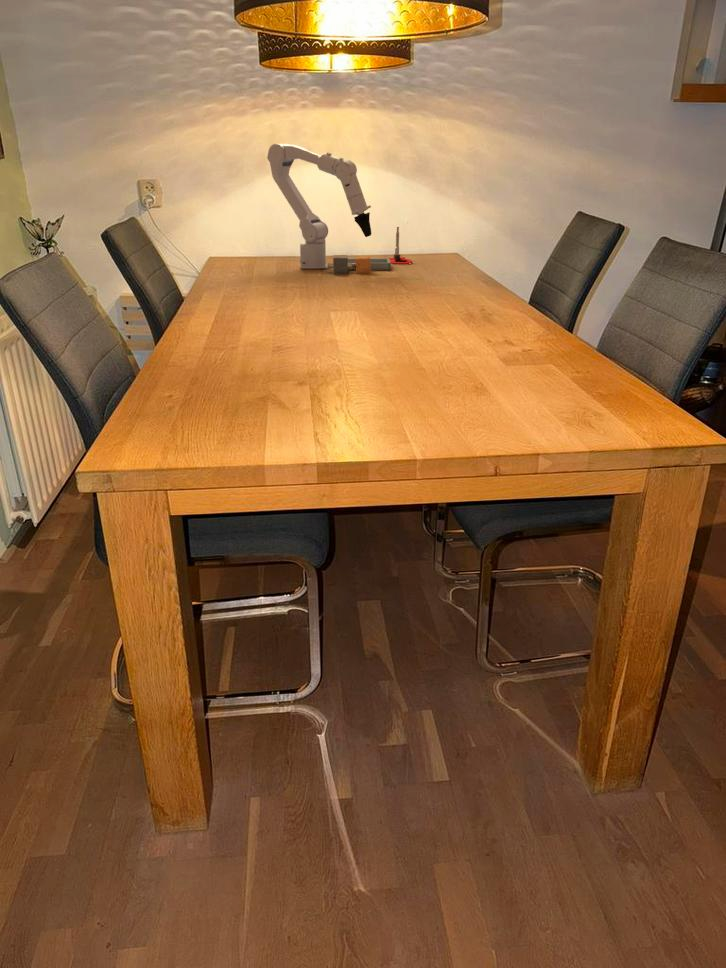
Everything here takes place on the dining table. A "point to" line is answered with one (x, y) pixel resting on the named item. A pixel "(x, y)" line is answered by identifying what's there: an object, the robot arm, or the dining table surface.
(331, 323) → the dining table surface
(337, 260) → the block
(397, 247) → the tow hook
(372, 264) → the tray
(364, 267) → the hitch pin
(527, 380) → the dining table surface
